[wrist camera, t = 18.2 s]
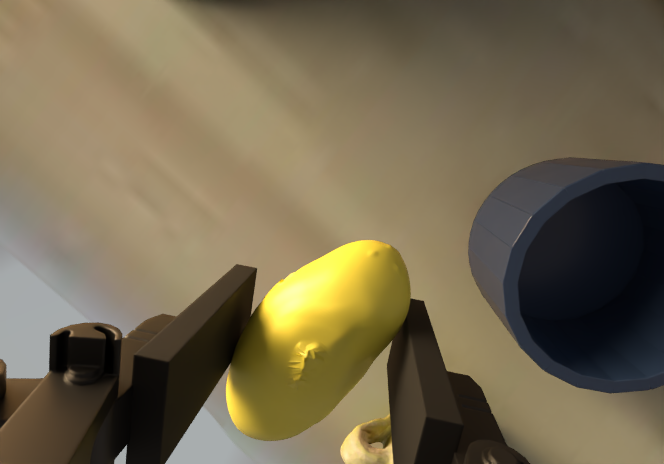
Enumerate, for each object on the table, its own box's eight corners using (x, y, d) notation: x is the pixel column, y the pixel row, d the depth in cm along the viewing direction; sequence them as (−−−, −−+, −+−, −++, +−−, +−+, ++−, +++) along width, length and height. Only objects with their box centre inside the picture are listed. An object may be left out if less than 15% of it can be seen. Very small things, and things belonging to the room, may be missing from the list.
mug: (551, 449, 31) (555, 584, 23) (455, 492, 36) (429, 615, 28) (432, 331, 32) (394, 417, 24) (357, 390, 38) (303, 477, 29)
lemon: (439, 282, 14) (463, 331, 11) (288, 420, 16) (262, 504, 12) (353, 200, 14) (346, 218, 10) (209, 348, 16) (157, 412, 12)
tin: (489, 145, 29) (537, 146, 20) (675, 173, 28) (802, 185, 20) (452, 310, 32) (480, 370, 23) (620, 340, 31) (711, 411, 22)
